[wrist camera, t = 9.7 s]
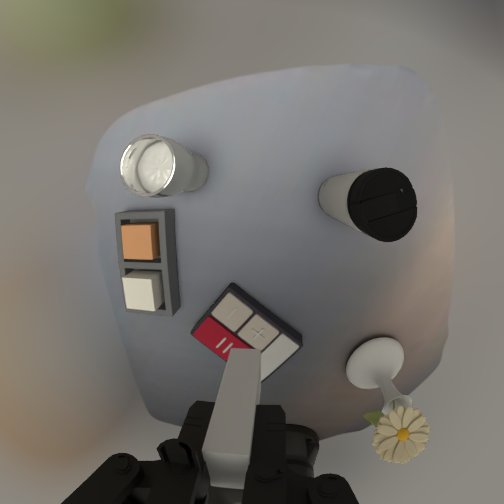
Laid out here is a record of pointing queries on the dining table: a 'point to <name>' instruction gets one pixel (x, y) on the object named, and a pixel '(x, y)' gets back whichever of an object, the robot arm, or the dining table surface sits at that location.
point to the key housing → (160, 263)
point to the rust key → (141, 240)
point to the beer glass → (161, 167)
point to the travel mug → (371, 202)
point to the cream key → (143, 290)
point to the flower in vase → (388, 400)
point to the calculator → (247, 330)
